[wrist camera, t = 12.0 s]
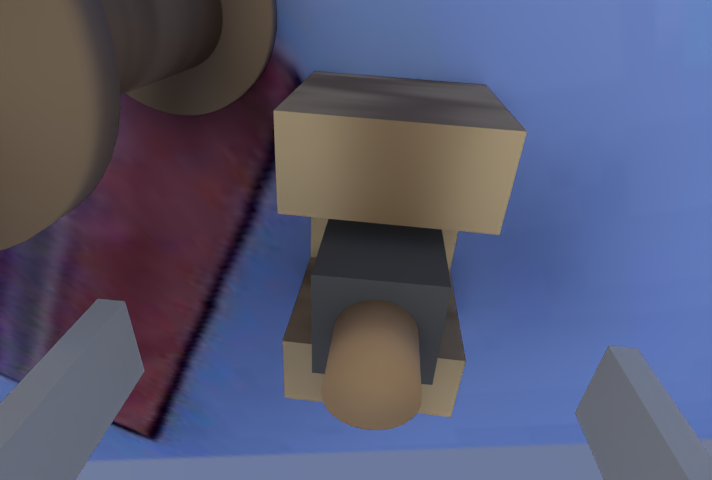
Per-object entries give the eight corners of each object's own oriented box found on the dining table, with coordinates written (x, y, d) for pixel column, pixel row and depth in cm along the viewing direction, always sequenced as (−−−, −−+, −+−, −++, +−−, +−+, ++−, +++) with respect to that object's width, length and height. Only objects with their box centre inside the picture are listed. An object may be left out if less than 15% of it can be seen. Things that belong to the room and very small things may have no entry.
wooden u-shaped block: (312, 300, 24) (284, 397, 18) (314, 71, 18) (273, 110, 12) (438, 313, 23) (451, 417, 18) (485, 84, 17) (527, 131, 12)
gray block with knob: (340, 248, 21) (296, 437, 12) (343, 171, 19) (292, 332, 10) (421, 254, 21) (437, 453, 12) (433, 178, 19) (462, 349, 10)
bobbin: (103, 102, 19) (-246, 235, 9) (48, -131, 15) (-725, -393, 5) (279, 116, 19) (132, 274, 8) (272, -118, 15) (-34, -372, 4)
